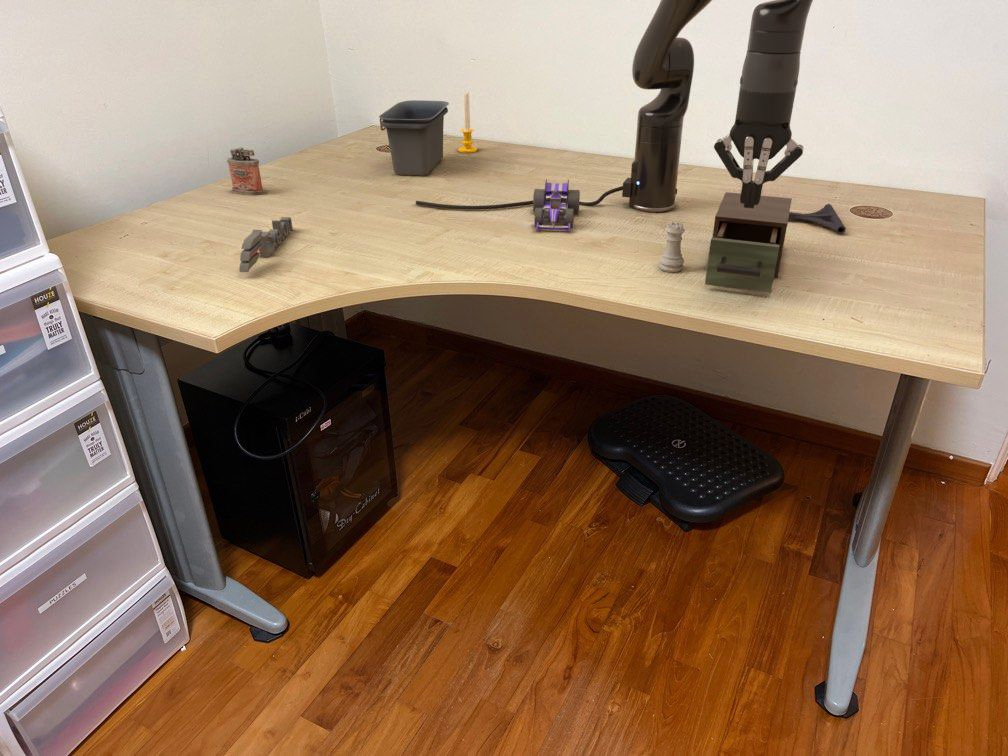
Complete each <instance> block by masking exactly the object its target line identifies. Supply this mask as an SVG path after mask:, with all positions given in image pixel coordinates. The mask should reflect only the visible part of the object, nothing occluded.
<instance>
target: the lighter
mask: <svg viewBox="0 0 1008 756" xmlns="http://www.w3.org/2000/svg"><path fill="white" fill-rule="evenodd" d="M229 153H230V155H231V157H228V158H226V162H227V164H228V169H229V175H230V179H231V185H232V192H233V193H235V194H240V195H247V196H261V195H264V193H265V190H264V188H263V183H262V182H263V181H262V176H261V172H260V166H259V164H260V160H259V159H257V158H252V157H254V156H255V151H254V150H253V149H252V148H251V149H249V148H244V147H241V146H240V147H237V148H230V149H229Z"/></svg>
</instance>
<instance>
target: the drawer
mask: <svg viewBox="0 0 1008 756" xmlns="http://www.w3.org/2000/svg"><path fill="white" fill-rule="evenodd" d="M778 228H779V227H771V226H761V225H752V224H742V223H733V222H723V223H722V225H721V228H720V230H719V233H718V235H717V238H714V237H713V236H712V237H710V243H709V251H708V257H707V265H706V272H705V278H704V279H705V280H704V285H705V286H711V287H712V286H713V287H719V288H720V287H721V288H726V289H735V290H736V289H737V290H743V291H750V292H758V293H767V294H771V293H772V289H773V283H774V278H775V277H774V273H775V267H776V262H777V256H778V251H779V245H777V244H776V239H777V233H778Z"/></svg>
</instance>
